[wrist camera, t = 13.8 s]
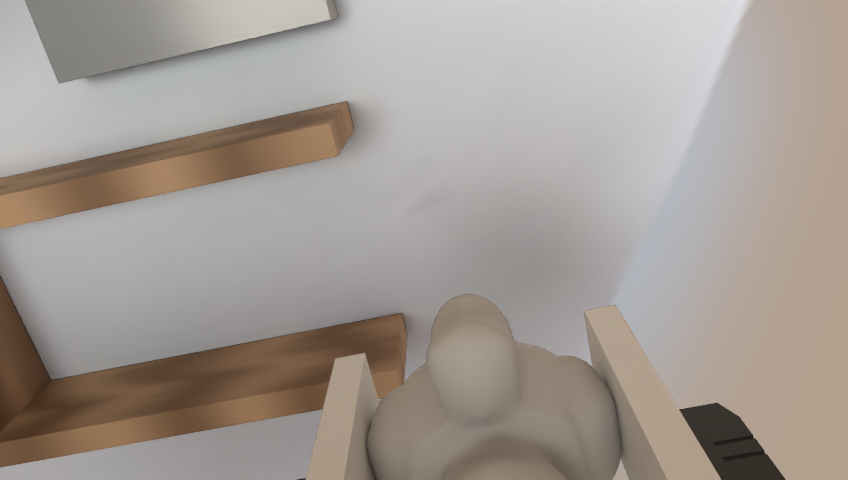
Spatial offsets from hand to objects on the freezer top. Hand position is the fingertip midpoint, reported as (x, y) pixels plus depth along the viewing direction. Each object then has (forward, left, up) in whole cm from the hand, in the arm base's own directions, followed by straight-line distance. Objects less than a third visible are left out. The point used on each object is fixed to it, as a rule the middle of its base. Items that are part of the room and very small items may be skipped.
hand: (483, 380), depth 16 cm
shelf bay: (-13, 0, -14) cm, 19 cm away
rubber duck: (0, 0, -1) cm, 1 cm away
